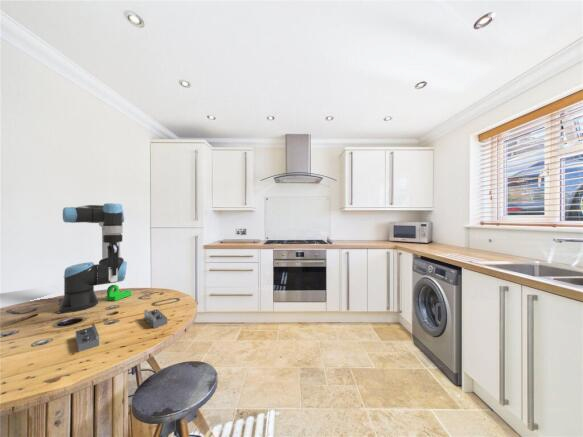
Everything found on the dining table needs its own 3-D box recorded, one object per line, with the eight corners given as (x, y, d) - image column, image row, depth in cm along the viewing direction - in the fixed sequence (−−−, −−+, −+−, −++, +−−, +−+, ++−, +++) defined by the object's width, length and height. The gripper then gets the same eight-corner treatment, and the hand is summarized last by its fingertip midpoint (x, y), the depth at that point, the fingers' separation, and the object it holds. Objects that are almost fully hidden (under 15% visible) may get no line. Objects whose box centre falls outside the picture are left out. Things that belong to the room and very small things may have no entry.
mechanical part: (115, 300, 129) (115, 287, 129) (106, 299, 130) (106, 286, 130) (133, 293, 141) (133, 281, 141) (126, 293, 142) (126, 280, 142)
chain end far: (144, 318, 105) (144, 310, 105) (157, 315, 110) (157, 306, 110) (153, 328, 96) (153, 319, 96) (167, 324, 100) (167, 315, 100)
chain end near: (75, 338, 88) (75, 328, 88) (94, 333, 92) (93, 323, 92) (78, 353, 79) (78, 341, 79) (99, 346, 83) (99, 335, 83)
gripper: (100, 233, 114) (100, 279, 114) (106, 235, 102) (106, 286, 103) (118, 233, 119) (118, 276, 119) (126, 234, 108) (126, 282, 108)
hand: (113, 280), depth 111 cm, fingers open, 4 cm apart
